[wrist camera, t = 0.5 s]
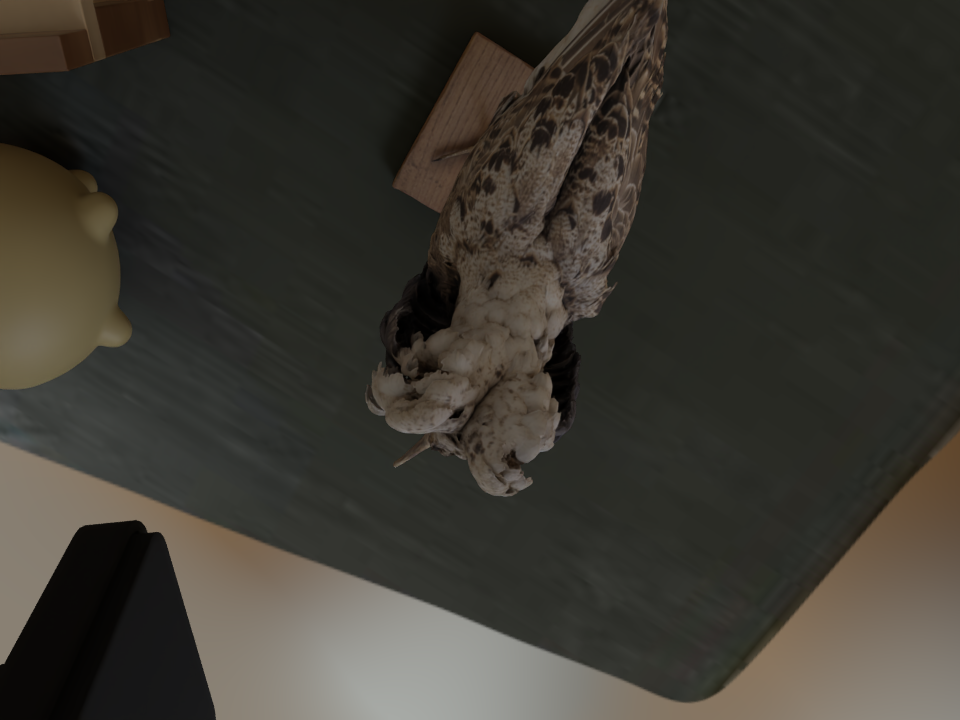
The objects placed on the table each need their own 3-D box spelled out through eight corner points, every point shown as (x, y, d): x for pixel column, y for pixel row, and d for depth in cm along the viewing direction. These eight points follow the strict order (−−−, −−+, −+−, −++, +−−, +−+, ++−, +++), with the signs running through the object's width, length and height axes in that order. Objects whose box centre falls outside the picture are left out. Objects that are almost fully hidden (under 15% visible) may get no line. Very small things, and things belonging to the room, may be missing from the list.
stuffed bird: (363, 331, 42) (343, 545, 27) (434, -108, 34) (465, -165, 19) (550, 360, 44) (634, 576, 28) (661, -52, 36) (863, -61, 20)
